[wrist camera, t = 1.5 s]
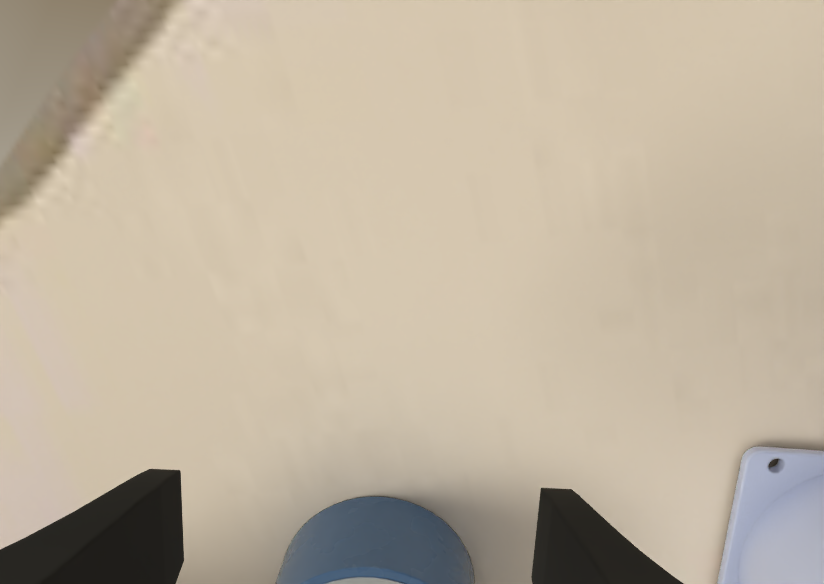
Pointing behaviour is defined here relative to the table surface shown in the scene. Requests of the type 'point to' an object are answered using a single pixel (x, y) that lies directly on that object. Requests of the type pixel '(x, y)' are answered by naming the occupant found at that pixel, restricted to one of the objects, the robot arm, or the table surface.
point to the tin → (376, 546)
